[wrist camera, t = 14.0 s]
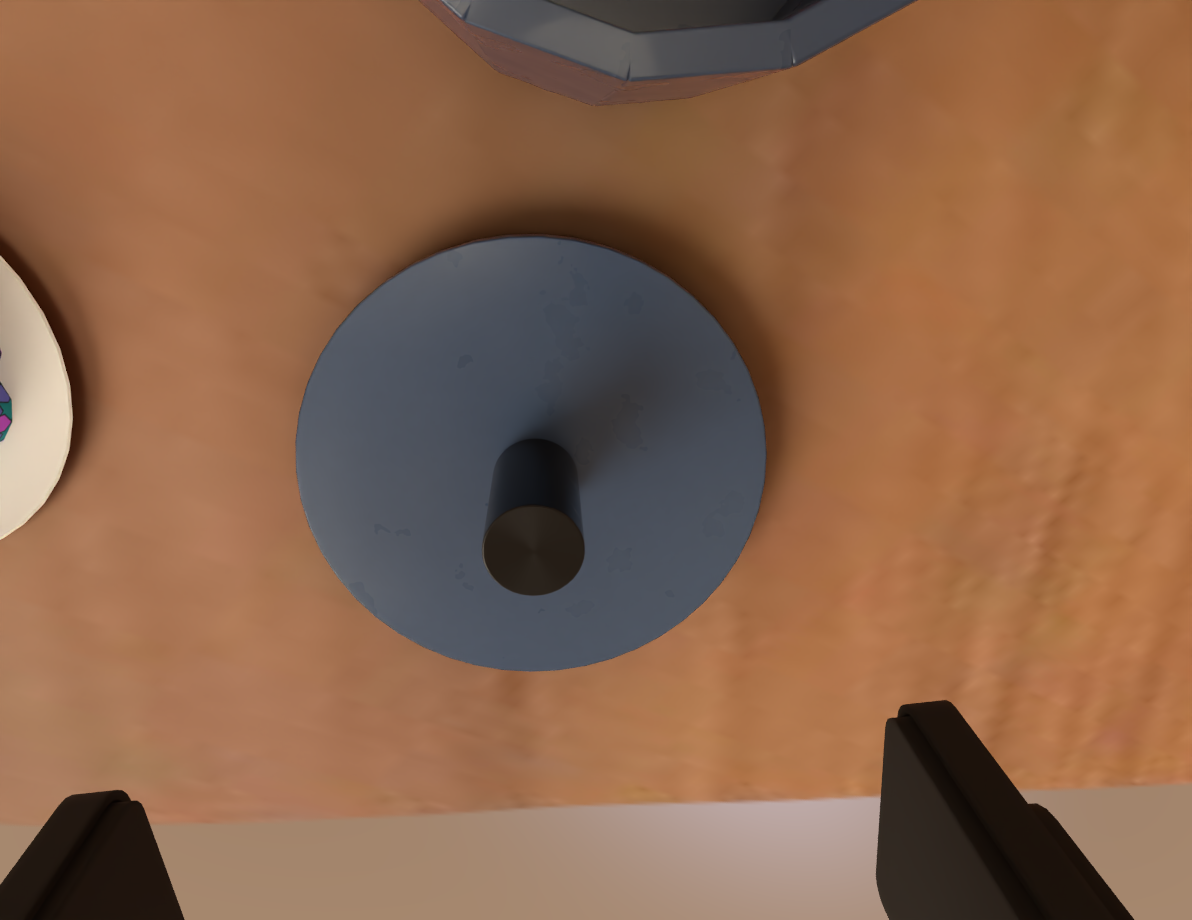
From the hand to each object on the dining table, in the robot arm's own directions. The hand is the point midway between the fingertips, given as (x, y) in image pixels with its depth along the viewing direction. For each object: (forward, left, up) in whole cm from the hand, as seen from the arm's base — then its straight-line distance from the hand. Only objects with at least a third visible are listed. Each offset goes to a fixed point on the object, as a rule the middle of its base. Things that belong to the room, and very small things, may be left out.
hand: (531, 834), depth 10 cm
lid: (0, +1, -16) cm, 16 cm away
